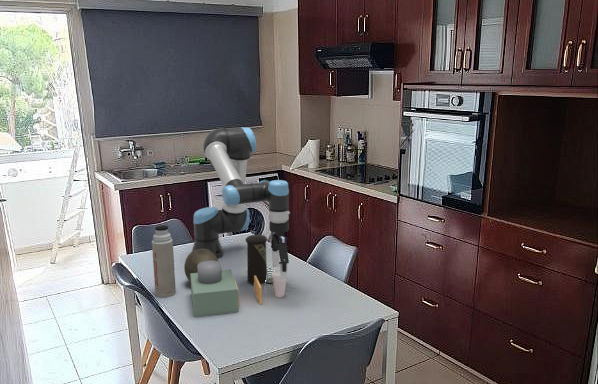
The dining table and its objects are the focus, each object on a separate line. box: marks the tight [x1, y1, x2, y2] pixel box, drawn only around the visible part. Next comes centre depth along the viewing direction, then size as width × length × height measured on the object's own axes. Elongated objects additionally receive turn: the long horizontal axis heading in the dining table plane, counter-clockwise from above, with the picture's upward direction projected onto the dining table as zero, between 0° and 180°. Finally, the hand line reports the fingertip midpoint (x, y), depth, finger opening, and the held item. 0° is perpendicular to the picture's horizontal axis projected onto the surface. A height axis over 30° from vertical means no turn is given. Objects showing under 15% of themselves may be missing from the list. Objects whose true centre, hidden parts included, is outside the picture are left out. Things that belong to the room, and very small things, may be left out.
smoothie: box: [271, 261, 288, 298], centre depth 194 cm, size 6×6×14 cm
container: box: [245, 234, 268, 285], centre depth 208 cm, size 9×9×20 cm
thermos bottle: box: [151, 224, 177, 298], centre depth 195 cm, size 8×8×28 cm
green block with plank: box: [190, 260, 263, 318], centre depth 189 cm, size 20×26×15 cm
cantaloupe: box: [183, 249, 219, 283], centre depth 206 cm, size 14×14×15 cm
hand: (279, 272), depth 194 cm, fingers open, 13 cm apart
